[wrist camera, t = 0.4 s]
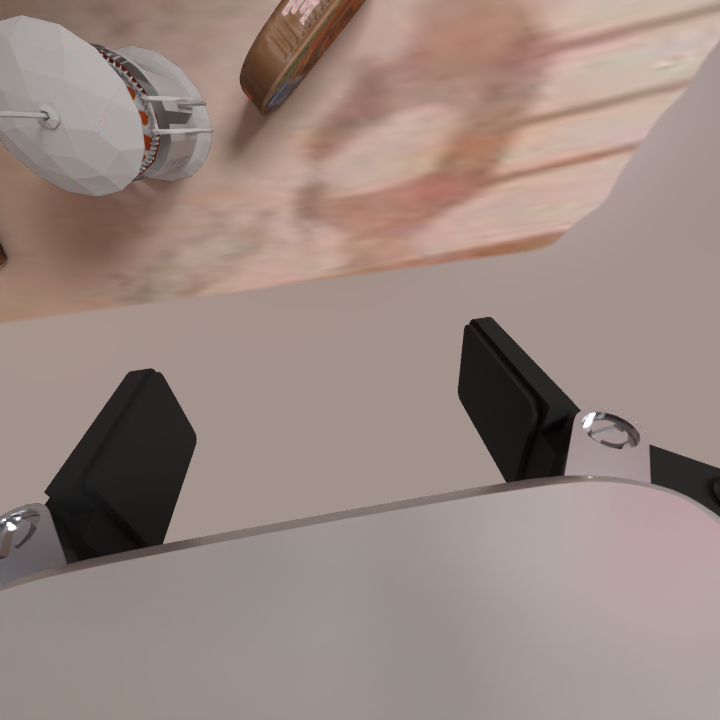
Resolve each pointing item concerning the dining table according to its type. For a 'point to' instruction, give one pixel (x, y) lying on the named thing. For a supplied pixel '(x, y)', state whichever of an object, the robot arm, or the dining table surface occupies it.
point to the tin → (291, 48)
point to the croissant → (2, 255)
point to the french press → (96, 110)
